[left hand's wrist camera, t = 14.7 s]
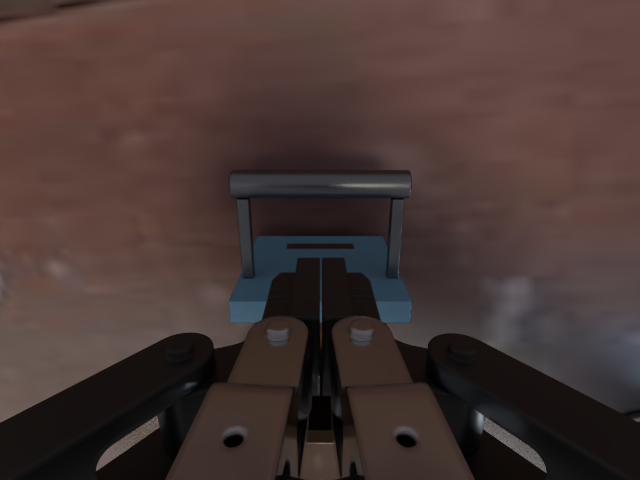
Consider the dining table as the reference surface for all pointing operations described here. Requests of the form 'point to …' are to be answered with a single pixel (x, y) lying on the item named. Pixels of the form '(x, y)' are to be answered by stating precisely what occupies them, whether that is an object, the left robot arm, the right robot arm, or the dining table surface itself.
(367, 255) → the drawer
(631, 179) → the dining table surface
